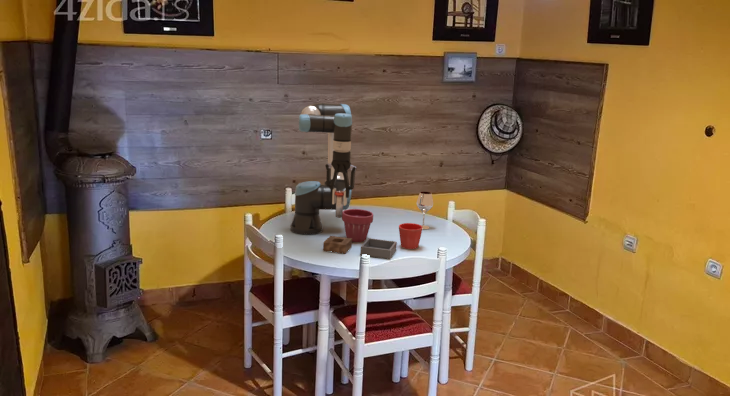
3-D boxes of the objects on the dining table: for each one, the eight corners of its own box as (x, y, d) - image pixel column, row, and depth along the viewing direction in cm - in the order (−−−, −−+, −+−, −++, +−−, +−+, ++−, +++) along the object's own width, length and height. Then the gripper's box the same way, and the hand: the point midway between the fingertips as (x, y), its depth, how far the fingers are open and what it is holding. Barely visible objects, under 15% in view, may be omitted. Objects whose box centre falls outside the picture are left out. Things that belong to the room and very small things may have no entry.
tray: (360, 255, 260) (360, 246, 259) (367, 246, 272) (368, 238, 271) (389, 259, 257) (390, 250, 256) (396, 250, 269) (396, 241, 268)
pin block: (323, 250, 263) (323, 242, 262) (330, 244, 272) (330, 235, 271) (345, 253, 261) (345, 245, 260) (351, 247, 270) (352, 238, 269)
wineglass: (430, 230, 301) (433, 195, 297) (413, 228, 303) (416, 193, 298) (431, 226, 309) (434, 191, 305) (415, 224, 310) (418, 190, 306)
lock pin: (332, 217, 262) (333, 192, 259) (335, 214, 266) (336, 190, 263) (342, 218, 261) (343, 193, 258) (345, 216, 265) (346, 191, 262)
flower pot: (392, 245, 275) (393, 225, 272) (408, 241, 282) (409, 221, 280) (409, 252, 268) (411, 231, 265) (426, 247, 275) (427, 226, 273)
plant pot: (376, 237, 285) (377, 211, 282) (365, 245, 273) (366, 218, 270) (348, 232, 291) (349, 207, 287) (336, 240, 278) (337, 213, 275)
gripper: (319, 150, 255) (317, 203, 260) (359, 153, 251) (356, 208, 256) (324, 147, 262) (323, 199, 267) (363, 151, 258) (361, 204, 263)
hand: (339, 204), depth 262 cm, fingers closed on lock pin, 4 cm apart
